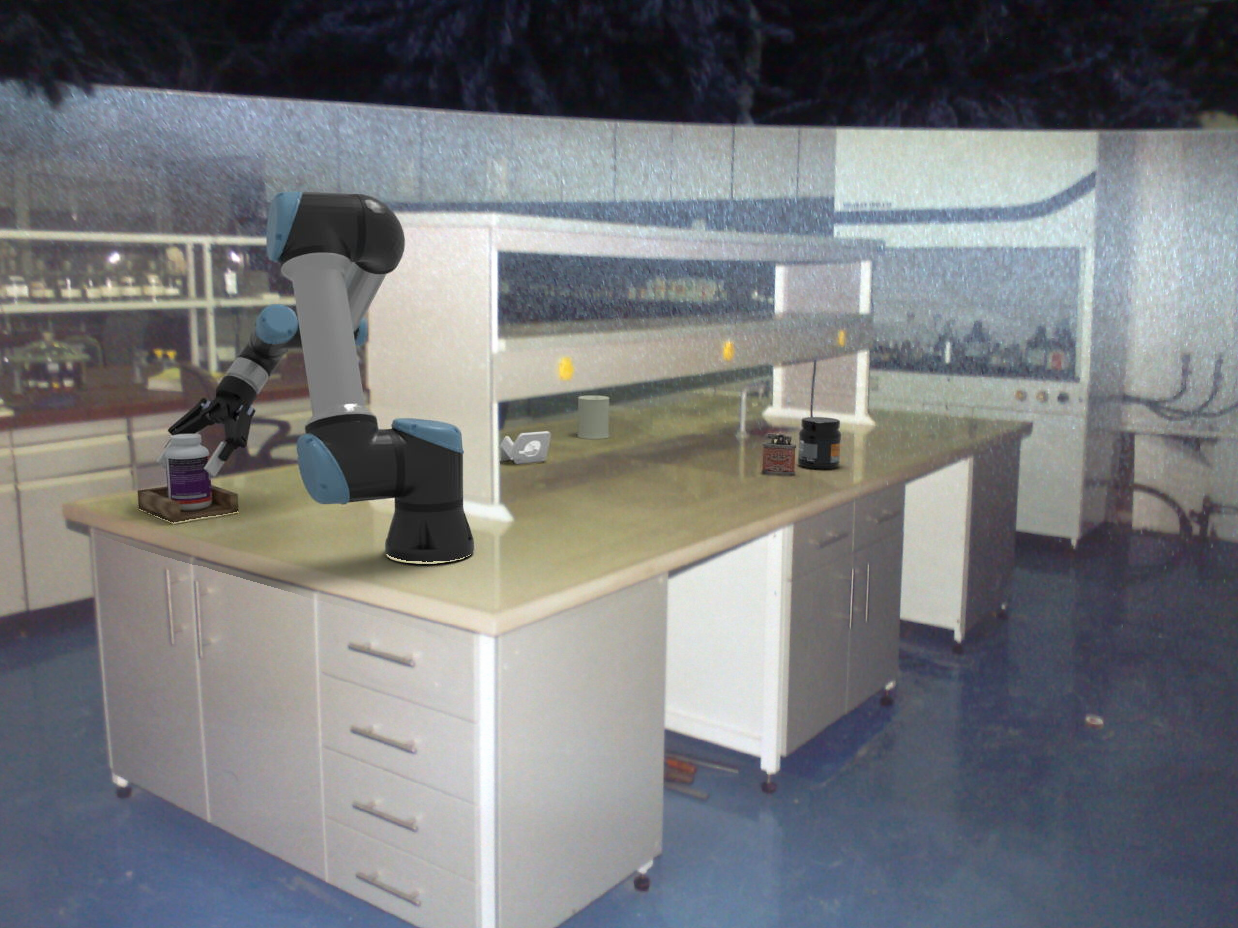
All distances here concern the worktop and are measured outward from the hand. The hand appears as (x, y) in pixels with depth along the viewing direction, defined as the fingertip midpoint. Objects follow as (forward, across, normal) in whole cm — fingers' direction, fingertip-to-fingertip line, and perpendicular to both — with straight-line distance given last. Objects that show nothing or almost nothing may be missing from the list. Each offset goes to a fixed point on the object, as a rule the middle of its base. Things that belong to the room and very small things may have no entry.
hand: (184, 469), depth 204 cm
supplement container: (-76, -91, -89) cm, 148 cm away
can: (-82, -21, -95) cm, 127 cm away
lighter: (-65, -86, -78) cm, 133 cm away
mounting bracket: (-50, -25, -63) cm, 85 cm away
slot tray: (+6, +1, -7) cm, 9 cm away
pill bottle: (+5, 0, -6) cm, 8 cm away
